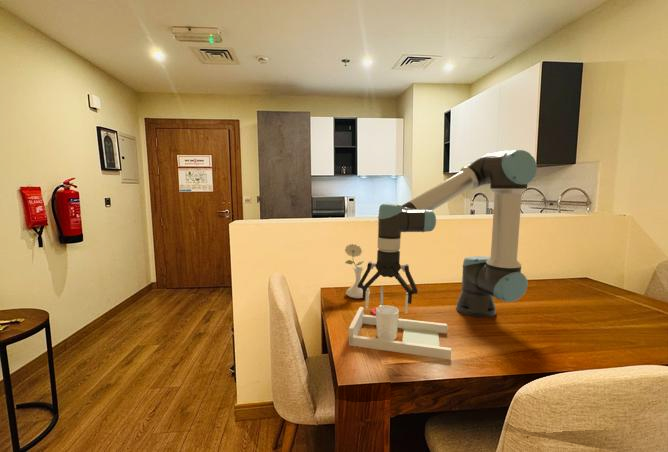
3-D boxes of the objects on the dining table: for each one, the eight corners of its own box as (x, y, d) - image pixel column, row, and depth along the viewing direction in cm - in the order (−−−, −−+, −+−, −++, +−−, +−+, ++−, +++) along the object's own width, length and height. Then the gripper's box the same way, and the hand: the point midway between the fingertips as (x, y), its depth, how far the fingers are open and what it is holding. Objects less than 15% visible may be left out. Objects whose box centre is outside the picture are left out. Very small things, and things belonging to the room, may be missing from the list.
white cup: (373, 331, 116) (373, 305, 114) (394, 331, 116) (395, 304, 115) (378, 342, 108) (378, 314, 106) (400, 341, 108) (401, 313, 107)
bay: (446, 331, 116) (447, 316, 115) (450, 359, 97) (451, 341, 97) (359, 321, 124) (359, 306, 123) (348, 345, 106) (348, 328, 105)
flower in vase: (374, 294, 154) (374, 243, 150) (363, 302, 144) (363, 248, 141) (350, 290, 160) (350, 241, 157) (338, 296, 151) (338, 244, 148)
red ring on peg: (371, 309, 138) (370, 317, 128) (372, 279, 136) (371, 285, 127) (391, 310, 136) (391, 318, 127) (392, 280, 135) (392, 286, 126)
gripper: (426, 250, 108) (423, 310, 111) (354, 245, 115) (353, 301, 117) (427, 254, 101) (423, 318, 104) (350, 249, 107) (348, 309, 110)
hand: (386, 309), depth 111 cm, fingers open, 13 cm apart
